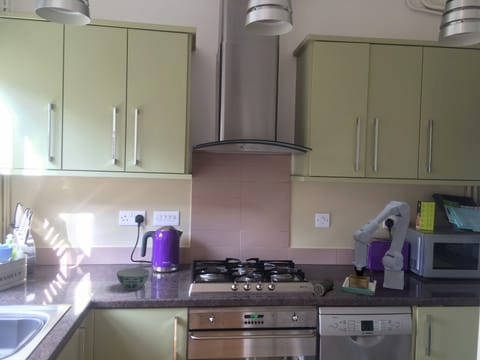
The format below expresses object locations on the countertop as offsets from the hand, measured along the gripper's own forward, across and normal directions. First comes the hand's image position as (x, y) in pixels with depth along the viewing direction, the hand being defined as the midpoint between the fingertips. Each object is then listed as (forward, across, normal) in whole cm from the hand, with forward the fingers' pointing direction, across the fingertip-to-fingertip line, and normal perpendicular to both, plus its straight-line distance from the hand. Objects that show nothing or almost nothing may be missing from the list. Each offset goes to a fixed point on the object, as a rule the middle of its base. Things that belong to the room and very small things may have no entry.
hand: (359, 281), depth 196 cm
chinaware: (+4, +53, -99) cm, 112 cm away
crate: (+3, +5, 0) cm, 5 cm away
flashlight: (+4, +15, -15) cm, 22 cm away
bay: (+3, 0, 0) cm, 3 cm away
